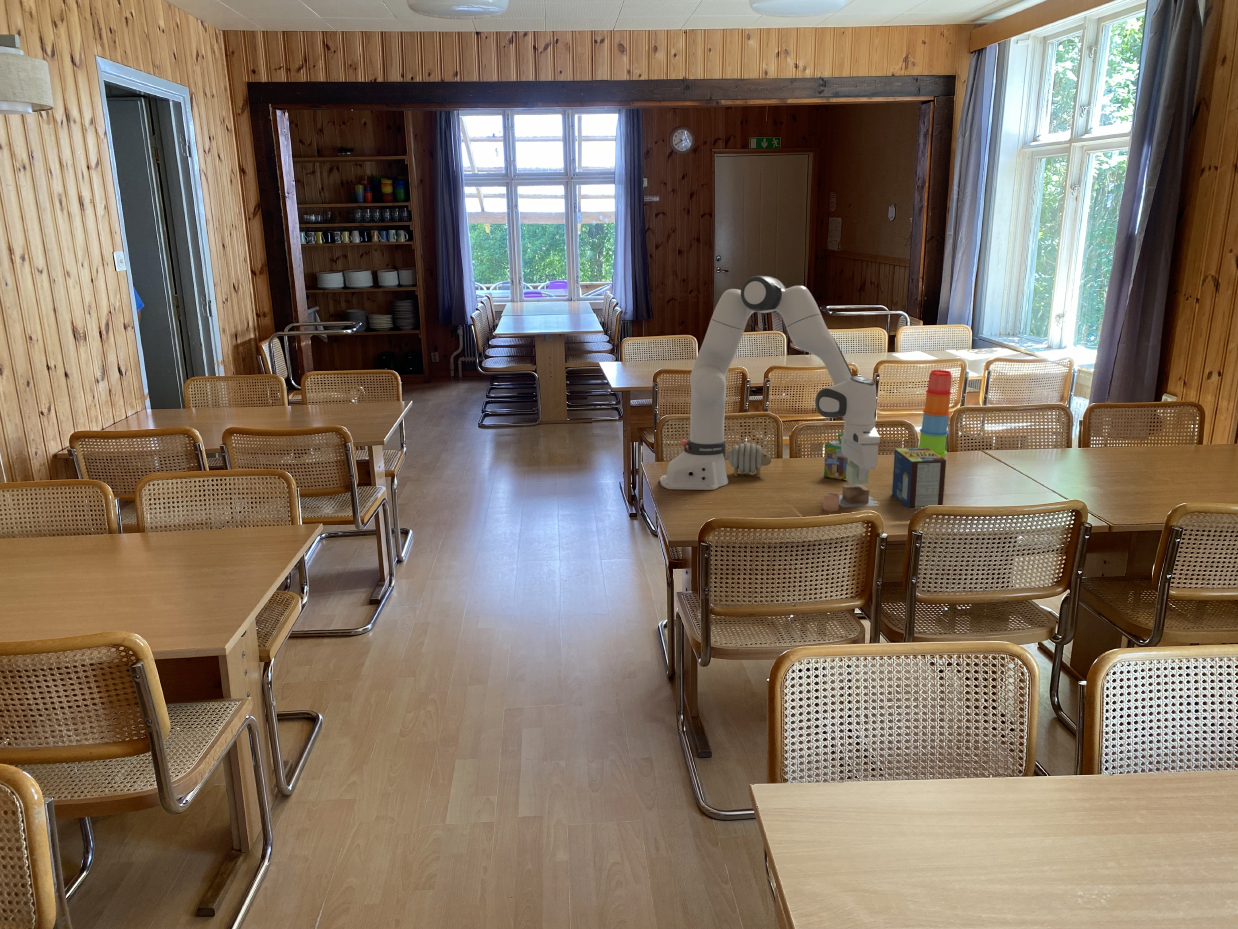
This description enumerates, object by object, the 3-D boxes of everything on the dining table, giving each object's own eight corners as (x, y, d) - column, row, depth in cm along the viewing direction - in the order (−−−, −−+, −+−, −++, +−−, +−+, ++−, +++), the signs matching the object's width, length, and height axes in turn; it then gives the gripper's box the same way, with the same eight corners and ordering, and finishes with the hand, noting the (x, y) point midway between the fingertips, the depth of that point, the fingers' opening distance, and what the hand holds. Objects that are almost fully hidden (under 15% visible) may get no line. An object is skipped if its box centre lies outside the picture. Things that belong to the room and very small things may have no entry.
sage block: (851, 484, 269) (852, 468, 268) (845, 479, 274) (846, 464, 273) (867, 483, 270) (868, 467, 268) (861, 479, 275) (862, 463, 273)
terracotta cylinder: (825, 514, 264) (826, 498, 262) (821, 509, 268) (821, 493, 266) (840, 513, 264) (841, 497, 263) (835, 509, 268) (836, 493, 267)
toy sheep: (771, 479, 300) (772, 447, 297) (720, 479, 301) (721, 446, 298) (769, 471, 310) (770, 439, 307) (720, 470, 311) (720, 439, 308)
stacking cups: (940, 467, 310) (949, 368, 301) (948, 476, 301) (957, 373, 292) (910, 467, 311) (917, 368, 302) (916, 475, 302) (924, 373, 293)
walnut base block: (849, 503, 270) (849, 491, 269) (842, 497, 276) (842, 485, 275) (868, 502, 271) (869, 490, 270) (861, 497, 276) (861, 484, 275)
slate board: (842, 509, 267) (842, 507, 267) (829, 498, 279) (829, 495, 278) (881, 508, 268) (881, 505, 268) (866, 496, 280) (867, 493, 280)
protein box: (924, 495, 280) (927, 447, 276) (943, 510, 265) (947, 460, 261) (890, 496, 280) (894, 447, 276) (907, 511, 265) (911, 460, 261)
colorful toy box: (848, 481, 296) (851, 438, 292) (822, 477, 301) (824, 434, 297) (860, 475, 303) (862, 432, 299) (834, 471, 308) (836, 429, 304)
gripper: (837, 424, 278) (835, 467, 281) (861, 440, 258) (858, 486, 261) (856, 423, 278) (854, 467, 282) (882, 439, 259) (879, 485, 262)
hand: (856, 476), depth 271 cm, fingers closed on sage block, 5 cm apart
